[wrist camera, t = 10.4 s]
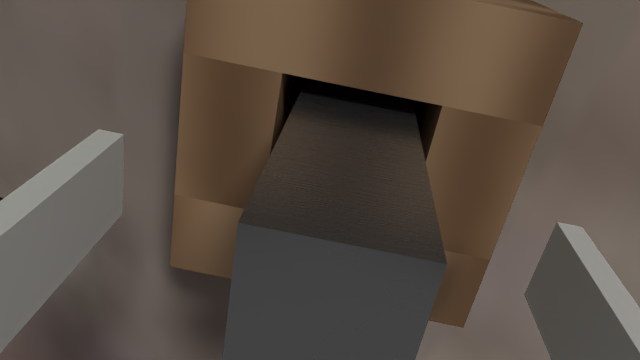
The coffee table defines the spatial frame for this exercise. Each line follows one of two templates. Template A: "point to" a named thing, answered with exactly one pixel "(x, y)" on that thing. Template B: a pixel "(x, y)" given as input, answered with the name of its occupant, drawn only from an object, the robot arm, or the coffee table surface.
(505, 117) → the wooden square frame
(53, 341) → the coffee table surface
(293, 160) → the dark grey bar
